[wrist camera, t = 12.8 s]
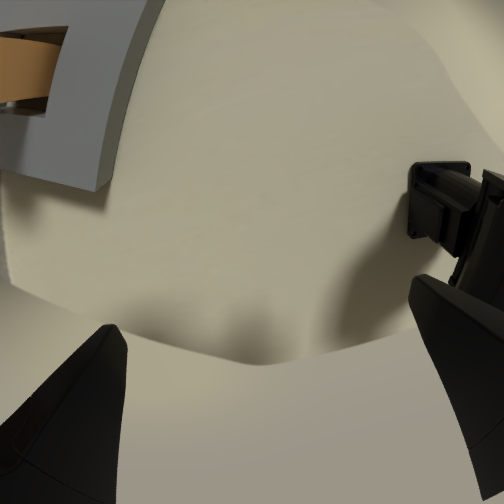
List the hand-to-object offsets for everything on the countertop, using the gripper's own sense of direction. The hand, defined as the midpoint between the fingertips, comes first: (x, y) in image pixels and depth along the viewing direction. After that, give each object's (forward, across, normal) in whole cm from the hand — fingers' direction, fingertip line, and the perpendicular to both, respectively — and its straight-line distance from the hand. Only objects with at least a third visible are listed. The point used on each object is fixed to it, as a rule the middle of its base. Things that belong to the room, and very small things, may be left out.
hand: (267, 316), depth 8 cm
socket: (+13, +13, -12) cm, 22 cm away
